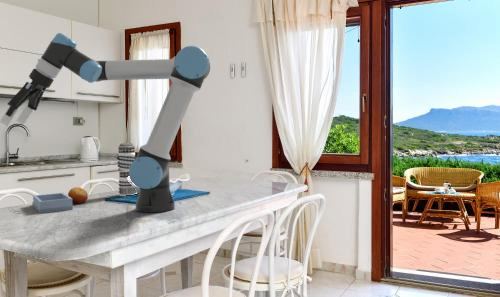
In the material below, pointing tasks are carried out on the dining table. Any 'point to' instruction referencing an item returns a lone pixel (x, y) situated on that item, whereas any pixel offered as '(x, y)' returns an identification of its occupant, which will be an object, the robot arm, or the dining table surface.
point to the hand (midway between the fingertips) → (12, 123)
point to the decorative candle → (125, 168)
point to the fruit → (78, 195)
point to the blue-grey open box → (52, 202)
